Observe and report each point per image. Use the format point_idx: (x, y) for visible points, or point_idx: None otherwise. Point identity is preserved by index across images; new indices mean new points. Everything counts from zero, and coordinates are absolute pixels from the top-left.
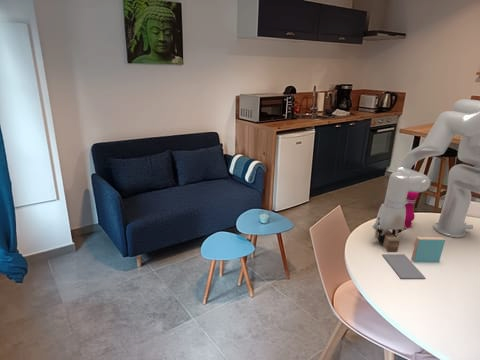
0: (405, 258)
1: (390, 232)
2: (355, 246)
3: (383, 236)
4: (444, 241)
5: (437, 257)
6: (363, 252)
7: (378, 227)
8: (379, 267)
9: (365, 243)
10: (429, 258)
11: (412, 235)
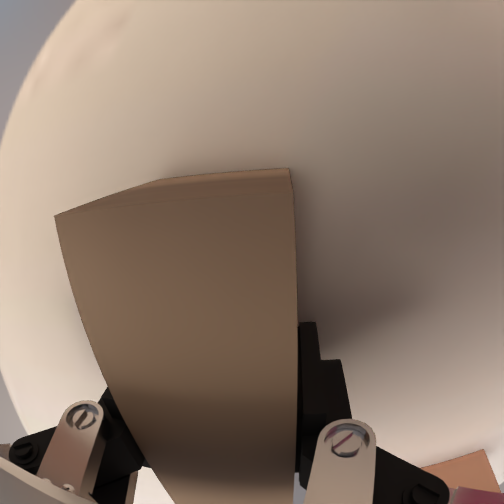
0: (302, 492)
1: (277, 437)
2: (15, 350)
3: (143, 462)
4: None
5: None
6: (60, 410)
7: (76, 249)
8: (138, 494)
9: (57, 322)
10: None
11: None
